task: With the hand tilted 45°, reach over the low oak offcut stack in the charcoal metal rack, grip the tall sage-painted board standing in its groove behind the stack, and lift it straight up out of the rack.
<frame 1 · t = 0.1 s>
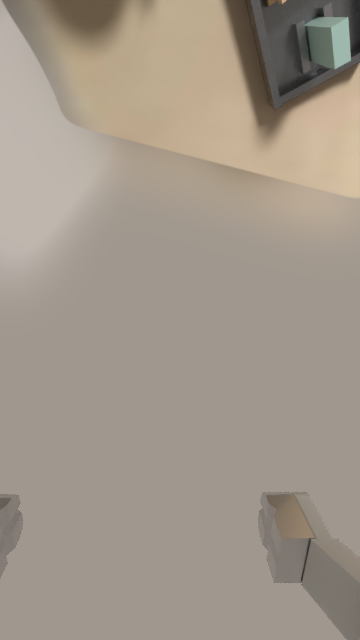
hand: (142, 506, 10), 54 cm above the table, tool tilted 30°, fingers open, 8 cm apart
sage board: (312, 39, 41), point 1 cm above the table, touching rack
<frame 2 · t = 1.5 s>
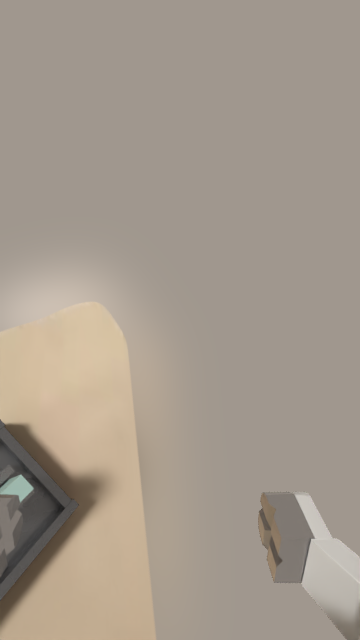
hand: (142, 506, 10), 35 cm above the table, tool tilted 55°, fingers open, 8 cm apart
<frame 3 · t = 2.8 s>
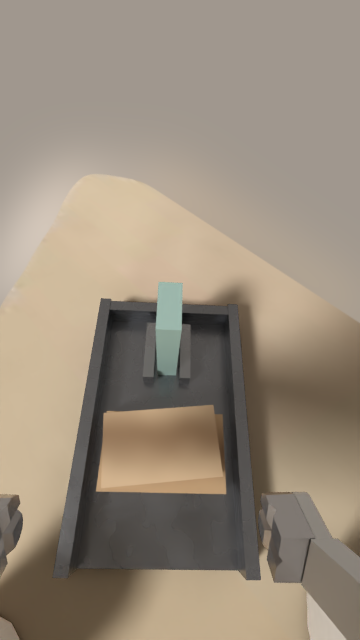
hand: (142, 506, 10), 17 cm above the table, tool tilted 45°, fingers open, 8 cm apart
rack: (164, 418, 28), on the table
sage board: (167, 356, 30), point 1 cm above the table, touching rack
offcut stack: (163, 452, 26), point 1 cm above the table, touching rack
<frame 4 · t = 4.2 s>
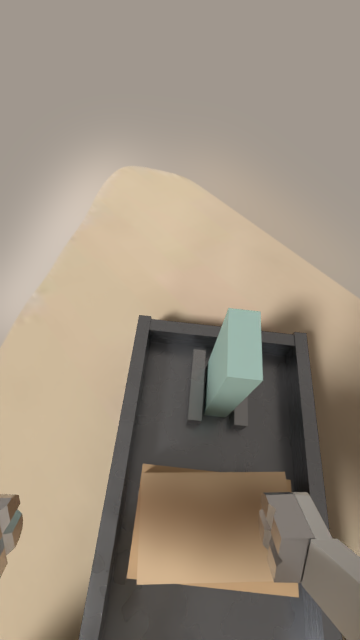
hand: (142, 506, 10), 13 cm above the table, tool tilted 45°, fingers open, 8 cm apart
rack: (210, 472, 22), on the table
sage board: (215, 391, 25), point 1 cm above the table, touching rack
offcut stack: (210, 521, 20), point 1 cm above the table, touching rack
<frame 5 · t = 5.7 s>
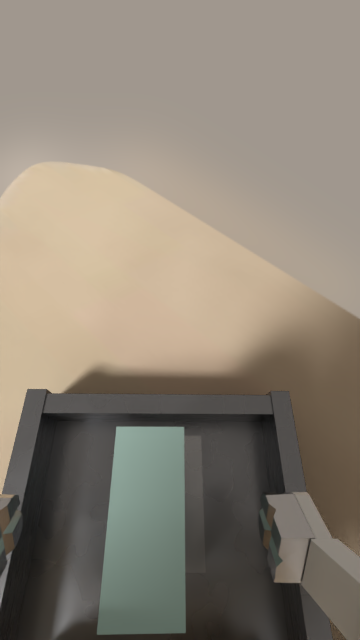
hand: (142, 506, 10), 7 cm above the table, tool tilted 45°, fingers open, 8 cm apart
sage board: (158, 496, 16), point 1 cm above the table, touching rack
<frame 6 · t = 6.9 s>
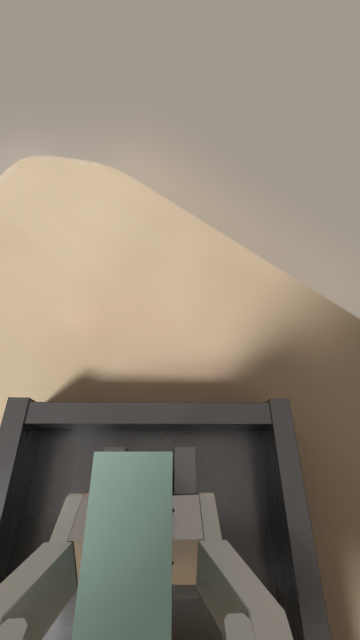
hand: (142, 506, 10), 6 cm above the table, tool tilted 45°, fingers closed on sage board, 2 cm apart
sage board: (149, 511, 15), point 1 cm above the table, touching gripper, rack
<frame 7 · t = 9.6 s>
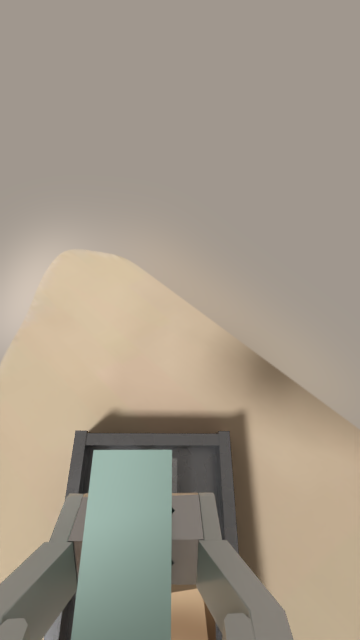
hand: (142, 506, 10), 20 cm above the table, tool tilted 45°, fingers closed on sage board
rack: (149, 575, 25), on the table
sage board: (149, 510, 15), point 15 cm above the table, touching gripper
offcut stack: (147, 628, 23), point 1 cm above the table, touching rack
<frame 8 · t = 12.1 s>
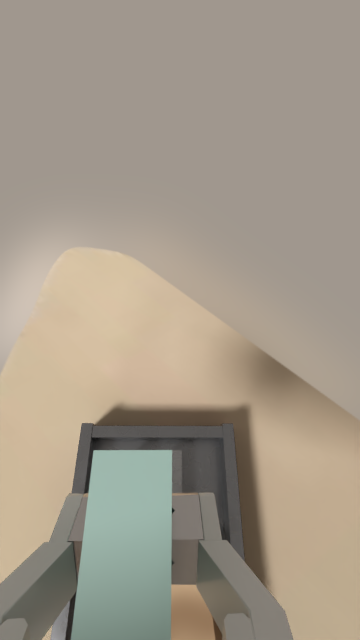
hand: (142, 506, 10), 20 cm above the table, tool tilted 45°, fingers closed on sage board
rack: (155, 565, 25), on the table
sage board: (149, 510, 15), point 15 cm above the table, touching gripper
offcut stack: (153, 616, 23), point 1 cm above the table, touching rack
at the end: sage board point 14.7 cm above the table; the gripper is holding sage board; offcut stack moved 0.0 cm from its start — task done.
